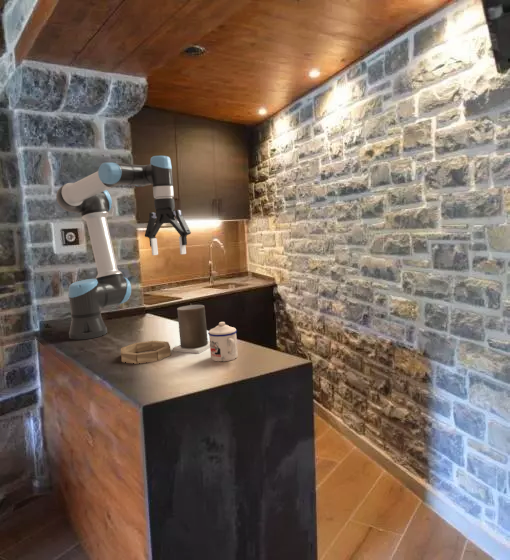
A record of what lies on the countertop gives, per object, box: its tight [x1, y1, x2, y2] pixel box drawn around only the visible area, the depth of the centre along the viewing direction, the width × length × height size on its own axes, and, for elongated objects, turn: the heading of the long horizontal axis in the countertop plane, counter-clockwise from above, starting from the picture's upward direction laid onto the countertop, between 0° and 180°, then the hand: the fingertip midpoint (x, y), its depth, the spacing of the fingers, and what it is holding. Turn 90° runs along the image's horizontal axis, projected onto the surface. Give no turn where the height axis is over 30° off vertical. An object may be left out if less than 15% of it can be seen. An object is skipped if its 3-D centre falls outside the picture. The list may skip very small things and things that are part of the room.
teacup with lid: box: [207, 321, 239, 362], centre depth 138 cm, size 12×9×12 cm
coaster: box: [172, 340, 210, 354], centre depth 154 cm, size 11×11×1 cm
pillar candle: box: [176, 302, 209, 348], centre depth 153 cm, size 10×10×15 cm
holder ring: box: [120, 340, 172, 365], centre depth 147 cm, size 16×16×3 cm
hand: (169, 254), depth 166 cm, fingers open, 13 cm apart
